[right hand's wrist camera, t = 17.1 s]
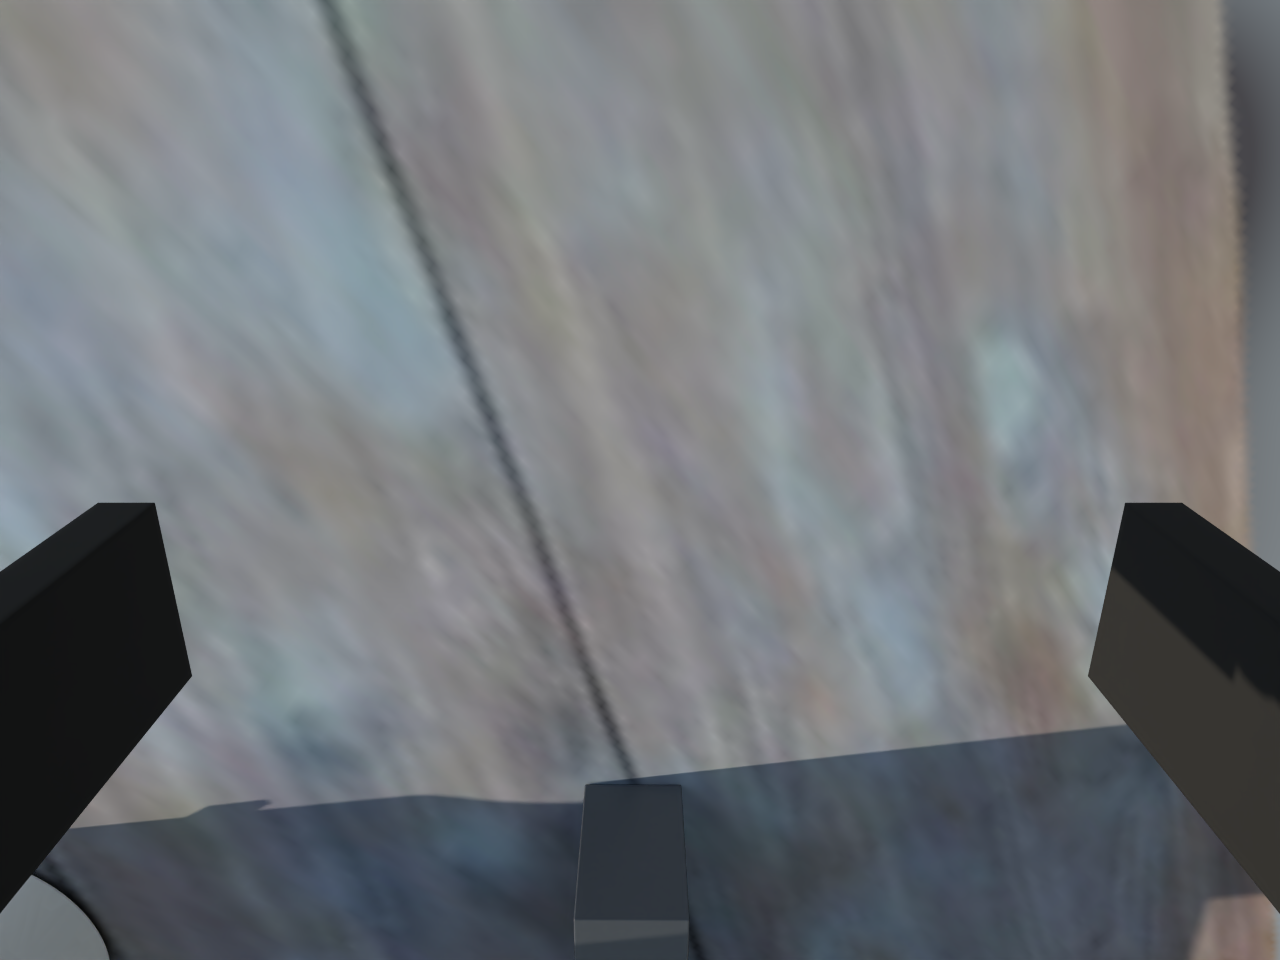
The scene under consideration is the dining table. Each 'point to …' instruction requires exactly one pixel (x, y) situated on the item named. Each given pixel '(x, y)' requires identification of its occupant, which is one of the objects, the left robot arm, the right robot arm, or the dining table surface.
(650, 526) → the dining table surface
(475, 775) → the dining table surface
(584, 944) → the bar
